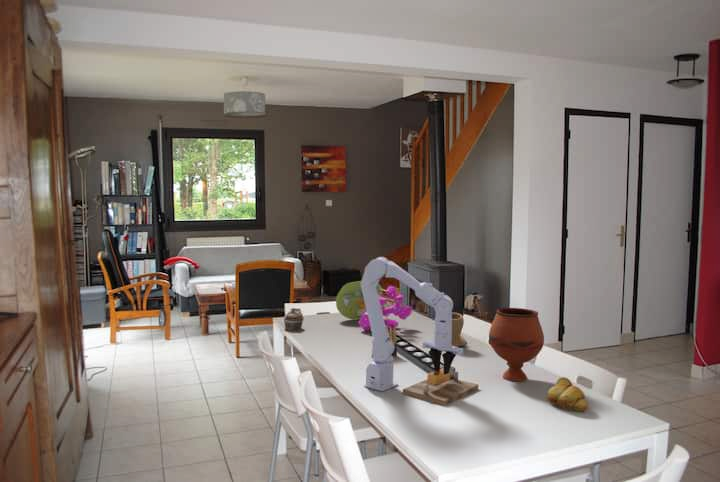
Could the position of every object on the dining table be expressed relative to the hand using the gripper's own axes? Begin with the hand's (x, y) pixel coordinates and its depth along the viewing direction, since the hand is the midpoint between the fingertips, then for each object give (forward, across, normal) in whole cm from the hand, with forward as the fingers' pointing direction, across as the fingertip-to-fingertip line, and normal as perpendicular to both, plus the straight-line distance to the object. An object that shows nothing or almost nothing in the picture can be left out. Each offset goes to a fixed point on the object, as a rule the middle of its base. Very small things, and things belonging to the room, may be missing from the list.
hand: (441, 372), depth 188 cm
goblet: (+7, -12, -31) cm, 34 cm away
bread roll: (+7, -37, -15) cm, 40 cm away
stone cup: (+7, +28, -55) cm, 62 cm away
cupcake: (+7, +102, -29) cm, 107 cm away
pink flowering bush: (+7, +78, -63) cm, 101 cm away
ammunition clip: (+7, +40, -21) cm, 46 cm away
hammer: (+3, 0, 0) cm, 3 cm away
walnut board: (+6, 0, 0) cm, 7 cm away
